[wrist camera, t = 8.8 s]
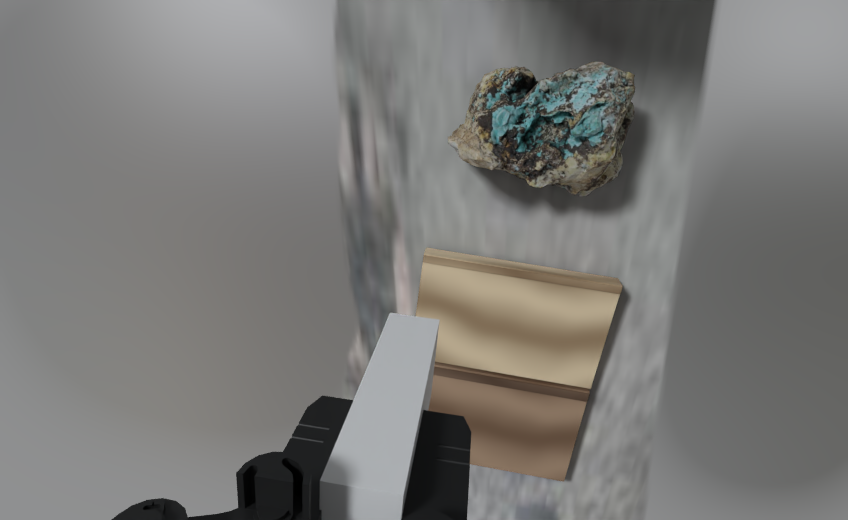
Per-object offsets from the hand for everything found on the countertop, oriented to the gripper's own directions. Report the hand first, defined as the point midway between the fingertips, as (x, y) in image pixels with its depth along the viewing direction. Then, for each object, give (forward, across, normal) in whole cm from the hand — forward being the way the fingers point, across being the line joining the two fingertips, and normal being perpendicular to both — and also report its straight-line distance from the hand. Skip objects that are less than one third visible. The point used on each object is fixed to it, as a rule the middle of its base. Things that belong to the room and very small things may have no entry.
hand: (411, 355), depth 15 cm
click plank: (+26, +6, -11) cm, 29 cm away
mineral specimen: (+28, +5, +4) cm, 28 cm away
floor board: (+26, +5, -22) cm, 34 cm away
